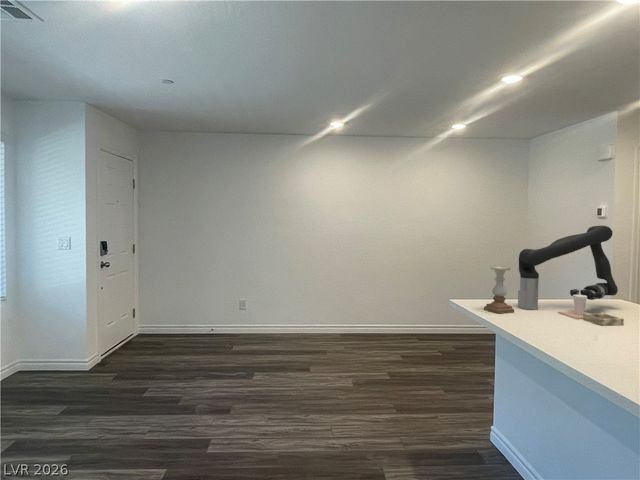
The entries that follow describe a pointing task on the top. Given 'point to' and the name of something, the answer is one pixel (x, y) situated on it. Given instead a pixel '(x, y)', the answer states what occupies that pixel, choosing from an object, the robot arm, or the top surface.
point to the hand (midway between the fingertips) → (580, 295)
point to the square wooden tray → (603, 319)
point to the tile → (572, 314)
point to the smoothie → (579, 303)
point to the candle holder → (499, 294)
